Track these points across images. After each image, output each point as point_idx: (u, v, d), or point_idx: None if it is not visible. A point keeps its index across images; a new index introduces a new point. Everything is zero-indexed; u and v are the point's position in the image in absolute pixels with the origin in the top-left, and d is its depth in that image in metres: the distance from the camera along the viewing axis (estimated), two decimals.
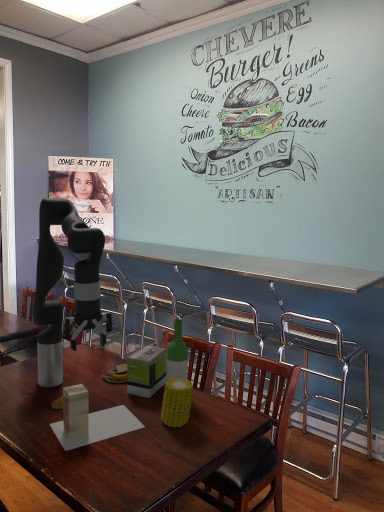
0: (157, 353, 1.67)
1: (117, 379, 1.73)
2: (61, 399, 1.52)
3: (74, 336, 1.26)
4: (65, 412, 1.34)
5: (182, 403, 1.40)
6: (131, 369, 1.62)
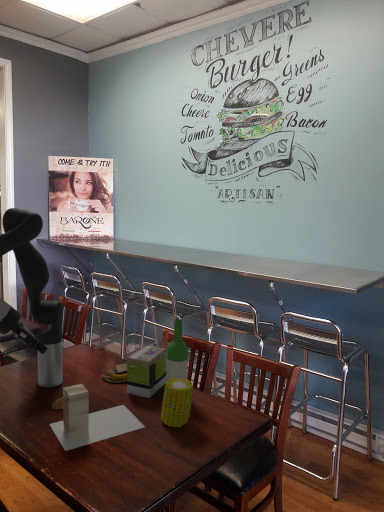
0: (157, 353, 1.67)
1: (117, 379, 1.73)
2: (61, 399, 1.52)
3: None
4: (65, 412, 1.34)
5: (182, 403, 1.40)
6: (131, 369, 1.62)
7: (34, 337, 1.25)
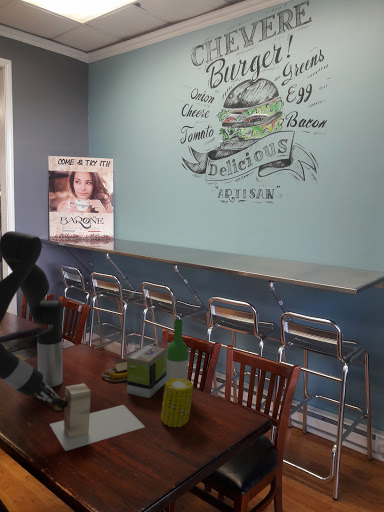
0: (157, 353, 1.67)
1: (117, 378, 1.74)
2: (64, 400, 1.51)
3: None
4: (66, 411, 1.34)
5: (182, 403, 1.40)
6: (131, 369, 1.62)
7: (56, 395, 1.30)
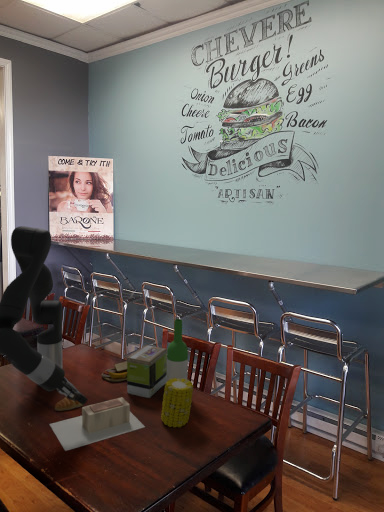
0: (157, 353, 1.67)
1: (117, 377, 1.75)
2: (64, 401, 1.51)
3: None
4: (107, 404, 1.41)
5: (182, 403, 1.40)
6: (131, 369, 1.62)
7: (77, 391, 1.34)
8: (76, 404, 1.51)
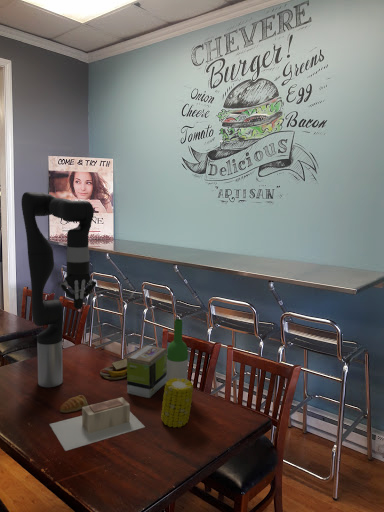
0: (157, 353, 1.67)
1: (116, 376, 1.76)
2: (69, 402, 1.50)
3: (77, 296, 1.48)
4: (107, 404, 1.41)
5: (182, 403, 1.40)
6: (131, 369, 1.62)
7: None
8: (81, 405, 1.51)
